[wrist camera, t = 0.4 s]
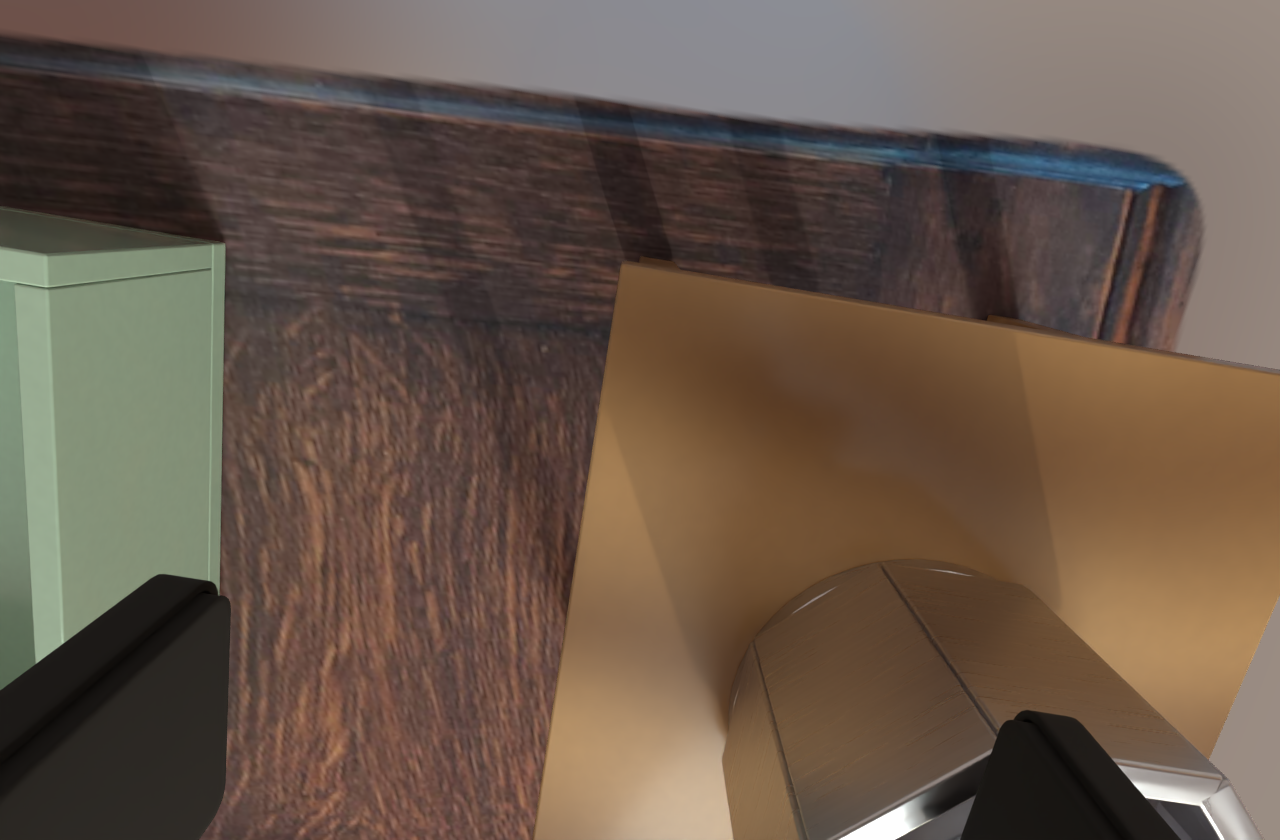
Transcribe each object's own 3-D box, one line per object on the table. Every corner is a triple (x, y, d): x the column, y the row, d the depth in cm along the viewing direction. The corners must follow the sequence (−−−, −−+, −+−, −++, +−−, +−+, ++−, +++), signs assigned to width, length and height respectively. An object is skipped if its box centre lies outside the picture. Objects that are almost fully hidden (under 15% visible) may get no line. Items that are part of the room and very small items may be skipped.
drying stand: (629, 241, 25) (620, 263, 13) (1036, 310, 25) (1371, 388, 14) (564, 660, 29) (514, 957, 17) (915, 710, 29) (1093, 1030, 18)
